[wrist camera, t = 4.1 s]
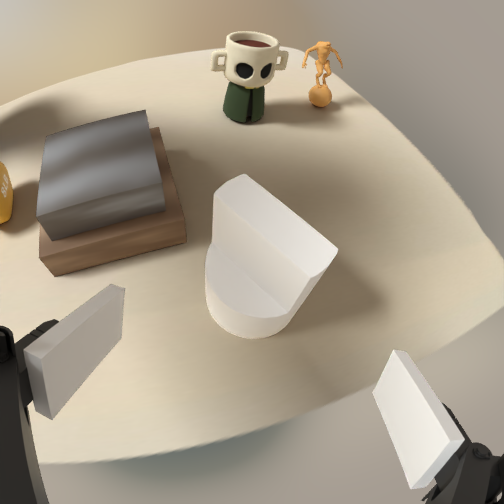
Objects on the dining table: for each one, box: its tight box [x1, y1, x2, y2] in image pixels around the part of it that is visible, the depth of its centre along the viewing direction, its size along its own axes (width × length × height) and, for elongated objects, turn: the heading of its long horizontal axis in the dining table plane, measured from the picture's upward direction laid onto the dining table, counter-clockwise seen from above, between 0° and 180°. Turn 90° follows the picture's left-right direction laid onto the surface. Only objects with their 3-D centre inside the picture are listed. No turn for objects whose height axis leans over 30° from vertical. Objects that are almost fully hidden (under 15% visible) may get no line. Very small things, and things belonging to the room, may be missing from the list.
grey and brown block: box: [36, 110, 187, 277], centre depth 31 cm, size 15×15×8 cm
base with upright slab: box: [205, 174, 338, 339], centre depth 26 cm, size 9×9×12 cm
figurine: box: [302, 41, 343, 107], centre depth 45 cm, size 8×6×12 cm
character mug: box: [210, 31, 288, 122], centre depth 40 cm, size 11×7×13 cm, turn 106°
